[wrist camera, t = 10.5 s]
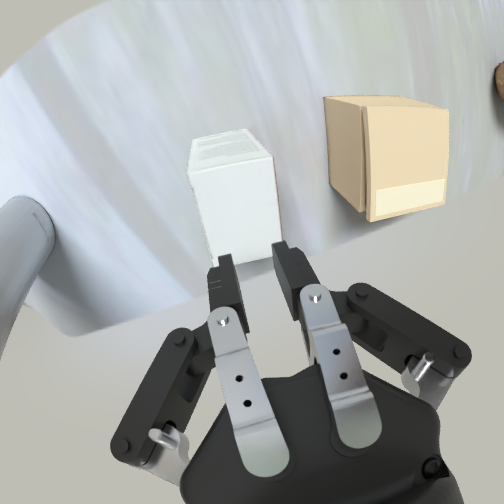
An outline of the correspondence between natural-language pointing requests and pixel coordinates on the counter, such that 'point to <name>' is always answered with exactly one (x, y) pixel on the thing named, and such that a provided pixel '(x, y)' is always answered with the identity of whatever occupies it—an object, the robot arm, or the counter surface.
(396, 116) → the lid
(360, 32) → the counter surface
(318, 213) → the counter surface
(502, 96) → the onion
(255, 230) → the small box
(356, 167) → the carton
